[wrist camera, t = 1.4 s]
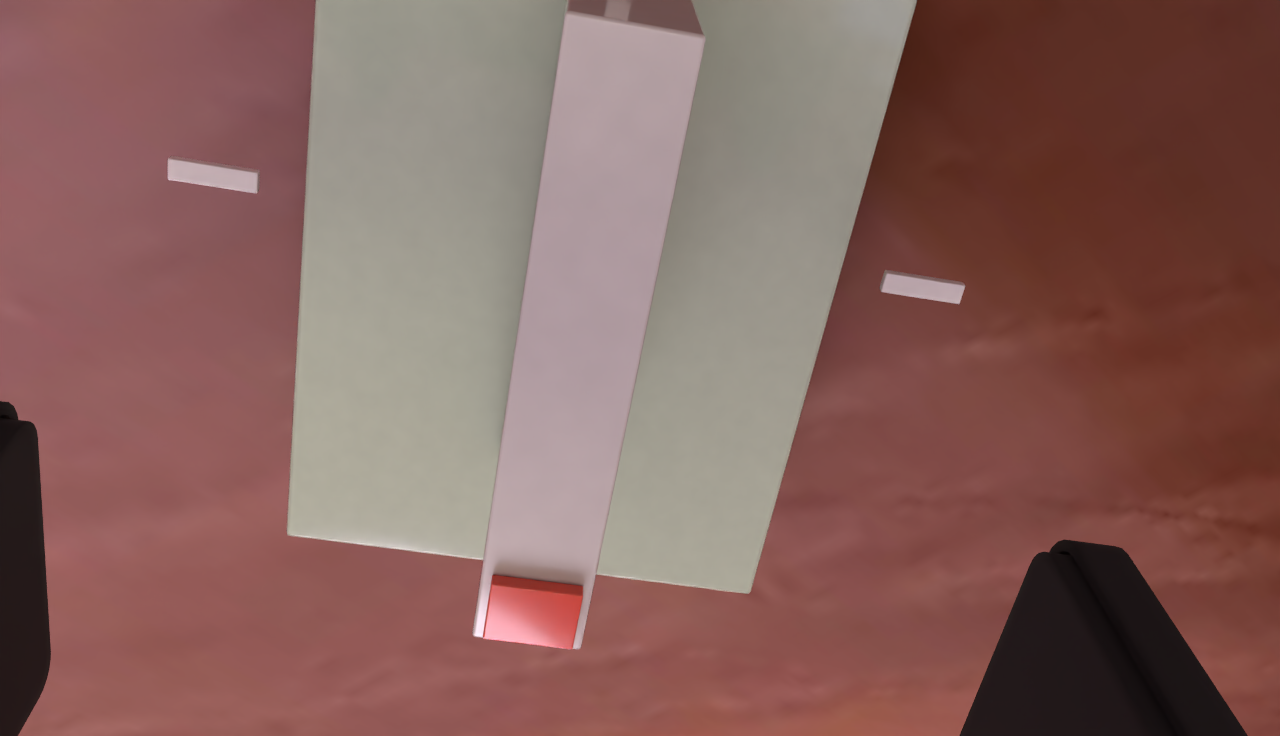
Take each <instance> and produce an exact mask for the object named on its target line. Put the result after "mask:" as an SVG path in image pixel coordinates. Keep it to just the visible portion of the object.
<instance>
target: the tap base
mask: <svg viewBox="0 0 1280 736" xmlns="http://www.w3.org/2000/svg"><path fill="white" fill-rule="evenodd" d="M693 3H694V5H695V8H696V11H697V14H698V17H699V20H700V22H701V25H702V28H703V31H704V34H705V37H706V42H705V47H704V51H703V56H702V61H701V66H700V71H699V76H698V81H697V86H696V91H695V95H694V100H693V105H692V110H691V115H690V120H689V125H688V130H687V134H686V139H685V144H684V149H683V154H682V159H681V164H680V169H679V173H678V178H677V183H676V188H675V193H674V198H673V203H672V208H671V212H670V217H669V222H668V227H667V232H666V237H665V242H664V247H663V251H662V256H661V261H660V266H659V271H658V276H657V281H656V286H655V291H654V295H653V300H652V305H651V310H650V315H649V320H648V325H647V330H646V334H645V339H644V344H643V349H642V354H641V359H640V364H639V369H638V373H637V378H636V383H635V388H634V393H633V398H632V403H631V408H630V412H629V417H628V422H627V427H626V432H625V437H624V442H623V447H622V451H621V456H620V461H619V466H618V471H617V476H616V481H615V486H614V490H613V495H612V500H611V505H610V510H609V515H608V520H607V525H606V530H605V534H604V539H603V544H602V549H601V554H600V559H599V564H598V569H597V573H596V575H603V576H611V577H618V578H626V579H634V580H642V581H650V582H658V583H666V584H674V585H682V586H689V587H697V588H705V589H713V590H721V591H729V592H737V593H745V594H748V593H750V591H751V589H752V585H753V582H754V578H755V575H756V571H757V568H758V564H759V561H760V557H761V553H762V550H763V546H764V543H765V539H766V536H767V532H768V529H769V525H770V522H771V518H772V514H773V511H774V507H775V504H776V500H777V497H778V493H779V490H780V486H781V483H782V479H783V475H784V472H785V468H786V465H787V461H788V458H789V454H790V451H791V447H792V444H793V440H794V436H795V433H796V429H797V426H798V422H799V419H800V415H801V412H802V408H803V404H804V401H805V397H806V394H807V390H808V387H809V383H810V380H811V376H812V373H813V369H814V365H815V362H816V358H817V355H818V351H819V348H820V344H821V341H822V337H823V334H824V330H825V326H826V323H827V319H828V316H829V312H830V309H831V305H832V302H833V298H834V294H835V291H836V287H837V284H838V280H839V277H840V273H841V270H842V266H843V263H844V259H845V255H846V252H847V248H848V245H849V241H850V238H851V234H852V231H853V227H854V224H855V220H856V216H857V213H858V209H859V206H860V202H861V199H862V195H863V192H864V188H865V184H866V181H867V177H868V174H869V170H870V167H871V163H872V160H873V156H874V153H875V149H876V145H877V142H878V138H879V135H880V131H881V128H882V124H883V121H884V117H885V114H886V110H887V106H888V103H889V99H890V96H891V92H892V89H893V85H894V82H895V78H896V75H897V71H898V67H899V64H900V60H901V57H902V53H903V50H904V46H905V43H906V39H907V35H908V32H909V28H910V25H911V21H912V18H913V14H914V11H915V7H916V4H917V0H693ZM564 4H565V0H315V16H314V34H313V53H312V71H311V89H310V108H309V126H308V144H307V163H306V181H305V199H304V218H303V236H302V255H301V273H300V291H299V310H298V328H297V346H296V365H295V383H294V401H293V420H292V438H291V457H290V475H289V493H288V512H287V530H286V531H287V534H288V535H290V536H295V537H303V538H311V539H319V540H327V541H335V542H343V543H351V544H358V545H366V546H374V547H382V548H390V549H398V550H406V551H414V552H421V553H429V554H437V555H445V556H453V557H461V558H469V559H477V560H483V554H484V547H485V540H486V533H487V526H488V519H489V511H490V504H491V497H492V490H493V483H494V476H495V469H496V462H497V455H498V448H499V441H500V434H501V428H502V421H503V414H504V408H505V401H506V394H507V387H508V381H509V374H510V367H511V360H512V354H513V347H514V340H515V334H516V327H517V320H518V313H519V307H520V300H521V293H522V287H523V280H524V273H525V266H526V260H527V253H528V246H529V239H530V233H531V226H532V219H533V213H534V206H535V199H536V192H537V186H538V179H539V172H540V166H541V159H542V152H543V145H544V139H545V132H546V125H547V118H548V112H549V105H550V98H551V92H552V85H553V78H554V71H555V65H556V58H557V51H558V45H559V38H560V31H561V24H562V18H563V11H564ZM168 180H174V181H181V182H187V183H193V184H200V185H206V186H212V187H219V188H225V189H232V190H238V191H244V192H251V193H257V192H258V191H259V183H260V170H258V169H251V168H245V167H239V166H232V165H226V164H220V163H214V162H207V161H201V160H195V159H189V158H182V157H176V156H170V157H169V158H168ZM964 289H965V284H964V283H963V282H959V281H952V280H946V279H940V278H934V277H927V276H921V275H915V274H909V273H902V272H896V271H890V270H885V271H884V275H883V278H882V281H881V285H880V290H881V292H885V293H892V294H898V295H904V296H911V297H917V298H923V299H930V300H936V301H942V302H949V303H955V304H959V303H960V300H961V297H962V294H963V291H964Z"/></svg>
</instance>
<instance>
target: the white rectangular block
mask: <svg viewBox="0 0 1280 736" xmlns="http://www.w3.org/2000/svg"><path fill="white" fill-rule="evenodd" d="M705 42H706V37H705V34H704V31H703V28H702V25H701V22H700V20H699V17H698V14H697V11H696V8H695V5H694V3H693V0H565V4H564V11H563V18H562V24H561V31H560V38H559V45H558V51H557V58H556V65H555V71H554V78H553V85H552V92H551V98H550V105H549V112H548V118H547V125H546V132H545V139H544V145H543V152H542V159H541V166H540V172H539V179H538V186H537V192H536V199H535V206H534V213H533V219H532V226H531V233H530V239H529V246H528V253H527V260H526V266H525V273H524V280H523V287H522V293H521V300H520V307H519V313H518V320H517V327H516V334H515V340H514V347H513V354H512V360H511V367H510V374H509V381H508V387H507V394H506V401H505V408H504V414H503V421H502V428H501V434H500V441H499V448H498V455H497V462H496V469H495V476H494V483H493V490H492V497H491V504H490V511H489V519H488V526H487V533H486V540H485V547H484V554H483V561H482V568H481V575H480V582H479V589H478V597H477V604H476V611H475V618H474V625H473V632H472V633H473V636H475V637H481V638H483V639H488V640H497V641H505V642H513V643H522V644H530V645H538V646H547V647H555V648H564V649H572V648H573V649H580V648H581V646H582V642H583V637H584V632H585V627H586V622H587V617H588V612H589V608H590V603H591V598H592V593H593V588H594V583H595V578H596V573H597V569H598V564H599V559H600V554H601V549H602V544H603V539H604V534H605V530H606V525H607V520H608V515H609V510H610V505H611V500H612V495H613V490H614V486H615V481H616V476H617V471H618V466H619V461H620V456H621V451H622V447H623V442H624V437H625V432H626V427H627V422H628V417H629V412H630V408H631V403H632V398H633V393H634V388H635V383H636V378H637V373H638V369H639V364H640V359H641V354H642V349H643V344H644V339H645V334H646V330H647V325H648V320H649V315H650V310H651V305H652V300H653V295H654V291H655V286H656V281H657V276H658V271H659V266H660V261H661V256H662V251H663V247H664V242H665V237H666V232H667V227H668V222H669V217H670V212H671V208H672V203H673V198H674V193H675V188H676V183H677V178H678V173H679V169H680V164H681V159H682V154H683V149H684V144H685V139H686V134H687V130H688V125H689V120H690V115H691V110H692V105H693V100H694V95H695V91H696V86H697V81H698V76H699V71H700V66H701V61H702V56H703V51H704V47H705Z"/></svg>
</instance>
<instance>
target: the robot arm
mask: <svg viewBox="0 0 1280 736" xmlns="http://www.w3.org/2000/svg"><path fill="white" fill-rule="evenodd" d="M50 658H51V649H50V632H49V615H48V599H47V582H46V566H45V549H44V533H43V516H42V500H41V483H40V467H39V450H38V437H37V430H36V428H35V426H34V424H33V423H31V422H29V421H21V420H18V416H17V412H16V410H15V408H14V406H13V405H11V404H10V403H9V402H2V401H0V736H18V734H19V733H20V731H21V729H22V727H23V726H24V724H25V722H26V720H27V718H28V717H29V715H30V713H31V711H32V710H33V708H34V706H35V704H36V703H37V701H38V699H39V697H40V695H41V693H42V691H43V689H44V686H45V683H46V680H47V676H48V672H49V666H50ZM960 736H1247V734H1246V733H1245V731H1244V729H1243V728H1242V726H1241V725H1240V723H1239V722H1238V720H1237V719H1236V717H1235V716H1234V714H1233V713H1232V711H1231V710H1230V708H1229V707H1228V705H1227V704H1226V702H1225V701H1224V699H1223V698H1222V696H1221V695H1220V693H1219V692H1218V690H1217V689H1216V687H1215V686H1214V684H1213V682H1212V681H1211V679H1210V678H1209V676H1208V675H1207V673H1206V672H1205V670H1204V669H1203V667H1202V666H1201V664H1200V663H1199V661H1198V660H1197V658H1196V657H1195V655H1194V654H1193V652H1192V651H1191V649H1190V648H1189V646H1188V645H1187V643H1186V642H1185V640H1184V638H1183V637H1182V635H1181V634H1180V632H1179V631H1178V629H1177V628H1176V626H1175V625H1174V623H1173V622H1172V620H1171V619H1170V617H1169V616H1168V614H1167V613H1166V611H1165V610H1164V608H1163V607H1162V605H1161V604H1160V602H1159V601H1158V599H1157V598H1156V596H1155V595H1154V593H1153V591H1152V590H1151V588H1150V587H1149V585H1148V584H1147V582H1146V581H1145V579H1144V578H1143V576H1142V575H1141V573H1140V572H1139V570H1138V569H1137V567H1136V566H1135V564H1134V563H1133V561H1132V560H1131V558H1130V557H1129V555H1128V554H1127V553H1126V552H1125V551H1124V550H1123V549H1122V548H1119V547H1116V546H1109V545H1101V544H1094V543H1086V542H1078V541H1070V540H1062V541H1059V542H1057V543H1056V544H1055V545H1054V546H1053V547H1052V548H1051V550H1050V552H1041V553H1038V554H1037V555H1036V556H1035V557H1034V559H1033V560H1032V562H1031V564H1030V566H1029V569H1028V571H1027V574H1026V576H1025V578H1024V581H1023V583H1022V586H1021V588H1020V591H1019V593H1018V595H1017V598H1016V600H1015V603H1014V605H1013V608H1012V610H1011V612H1010V615H1009V617H1008V620H1007V622H1006V624H1005V627H1004V629H1003V632H1002V634H1001V637H1000V639H999V641H998V644H997V646H996V649H995V651H994V654H993V656H992V658H991V661H990V663H989V666H988V668H987V671H986V673H985V675H984V678H983V680H982V683H981V685H980V688H979V690H978V692H977V695H976V697H975V700H974V702H973V704H972V707H971V709H970V712H969V714H968V717H967V719H966V721H965V724H964V726H963V729H962V731H961V734H960Z"/></svg>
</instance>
